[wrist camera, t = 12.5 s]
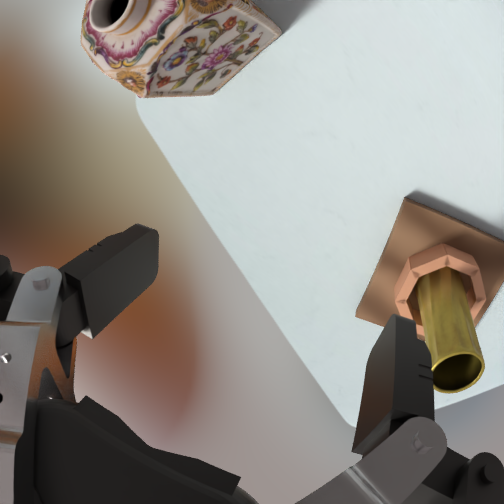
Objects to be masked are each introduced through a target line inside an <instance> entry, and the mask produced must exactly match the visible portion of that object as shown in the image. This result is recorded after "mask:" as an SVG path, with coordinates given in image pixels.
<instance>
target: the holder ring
mask: <svg viewBox="0 0 504 504" xmlns="http://www.w3.org/2000/svg"><path fill="white" fill-rule="evenodd" d="M445 266H448V267H450V268H453V269H455V270H458V271H460V272H462V273H465V274H467V275H468V276H469V279H470V283H471V287H470V289H469V291H468V293H467V294H466V296H467V300H468V304H469V308H470V312H471V315H472V318H473V320H474V319H475V317H476V316H477V314H478V312H479V311H480V309H481V308H482V306H483V304H484V303H485V301H486V295H485V290H484V286H483V281H482V277H481V273H480V269H479V267H478V265H477V263H476V261H475V259H474V257H473V256H472V255H470V254H468V253H465V252H463V251H461V250H458V249H456V248H454V247H451V246H449V245H447V244H444V243H443V244H442V243H441V244H439V245H436V246H434V247H431V248H429V249H427V250H424V251H422V252H419V253H417V254H415V255H412V256H410V257H409V258H408V260H407V262H406V264H405V266H404V268H403V270H402V272H401V274H400V277H399V279H398V281H397V283H396V285H395V287H394V292H395V303H396V306H397V308H398V311H399V313H400V315H401V316H403V317H406V318H409V319H412V320H415V322H416V329H417V334H420V335H423V336H425V335H424V329H423V324H422V319H421V314H420V311H418V310H415V309H413V307H412V305H411V302H410V300H409V295H410V293H411V291H412V289H413V287H414V285H415V283H416V281H417V280H418V278H419V277H420V276H423V275H425V274H428V273H430V272H433V271H435V270H438V269H440V268H443V267H445Z"/></svg>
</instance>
